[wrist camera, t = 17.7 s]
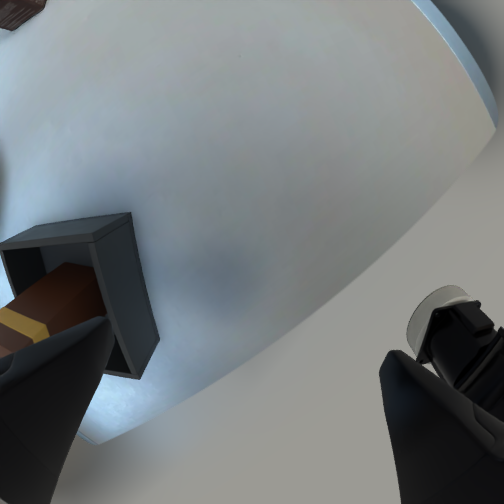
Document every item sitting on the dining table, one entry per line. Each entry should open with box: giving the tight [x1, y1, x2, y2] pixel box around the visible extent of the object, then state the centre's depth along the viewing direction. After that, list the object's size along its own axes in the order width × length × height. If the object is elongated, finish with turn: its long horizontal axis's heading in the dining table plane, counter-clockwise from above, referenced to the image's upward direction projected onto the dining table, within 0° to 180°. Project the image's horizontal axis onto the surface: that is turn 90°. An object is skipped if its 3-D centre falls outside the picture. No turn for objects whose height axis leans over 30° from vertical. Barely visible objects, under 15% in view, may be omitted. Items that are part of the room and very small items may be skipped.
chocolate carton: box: [0, 262, 107, 358], centre depth 16 cm, size 5×4×12 cm
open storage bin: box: [0, 212, 160, 380], centre depth 20 cm, size 12×12×6 cm
